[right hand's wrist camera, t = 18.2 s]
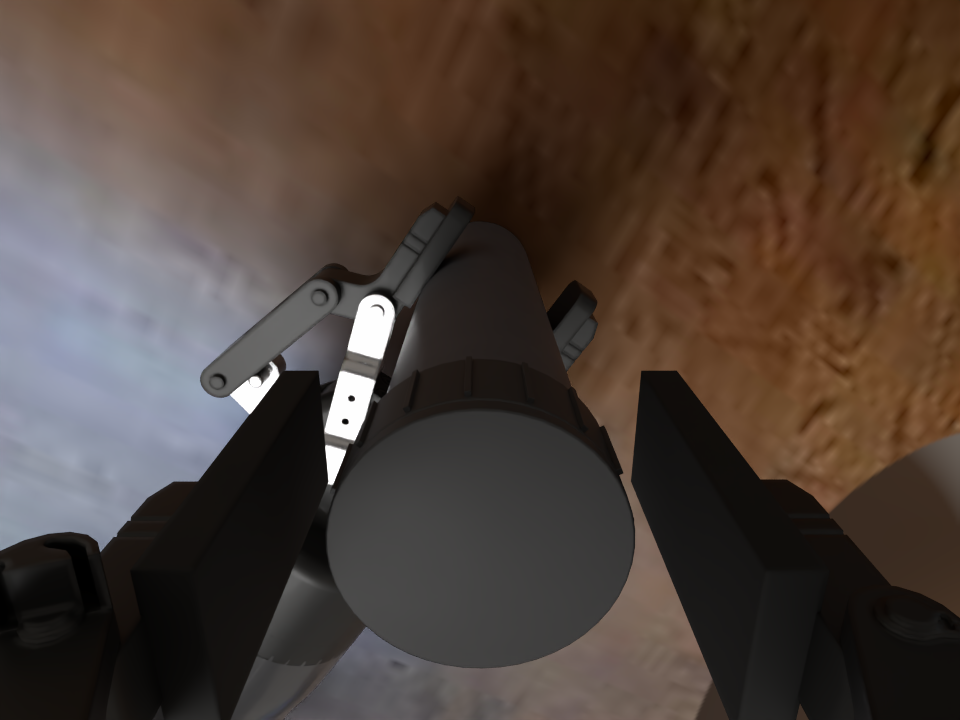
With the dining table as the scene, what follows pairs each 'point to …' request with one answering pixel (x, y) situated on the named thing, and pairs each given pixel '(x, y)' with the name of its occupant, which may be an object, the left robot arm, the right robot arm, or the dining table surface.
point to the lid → (480, 516)
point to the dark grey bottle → (481, 309)
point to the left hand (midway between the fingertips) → (525, 249)
